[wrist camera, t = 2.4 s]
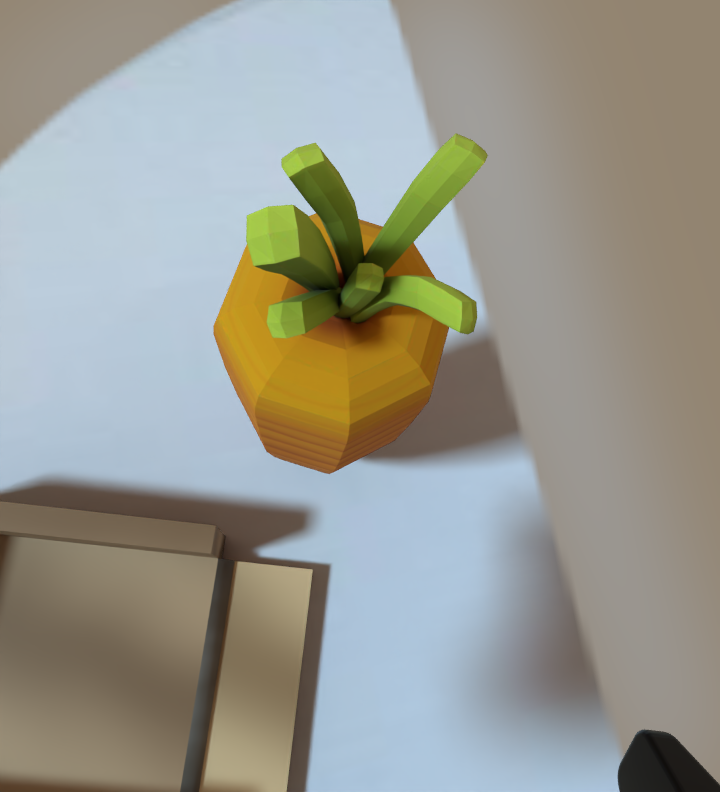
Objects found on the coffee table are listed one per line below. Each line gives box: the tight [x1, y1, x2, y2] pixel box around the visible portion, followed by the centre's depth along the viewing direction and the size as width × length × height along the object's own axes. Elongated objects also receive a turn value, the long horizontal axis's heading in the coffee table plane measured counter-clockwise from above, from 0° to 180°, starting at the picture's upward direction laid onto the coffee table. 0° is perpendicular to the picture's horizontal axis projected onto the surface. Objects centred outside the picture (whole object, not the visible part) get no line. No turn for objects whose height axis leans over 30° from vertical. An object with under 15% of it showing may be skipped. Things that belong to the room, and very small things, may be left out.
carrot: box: [214, 134, 487, 474], centre depth 16 cm, size 5×5×15 cm
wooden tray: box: [0, 501, 313, 792], centre depth 19 cm, size 9×12×3 cm
